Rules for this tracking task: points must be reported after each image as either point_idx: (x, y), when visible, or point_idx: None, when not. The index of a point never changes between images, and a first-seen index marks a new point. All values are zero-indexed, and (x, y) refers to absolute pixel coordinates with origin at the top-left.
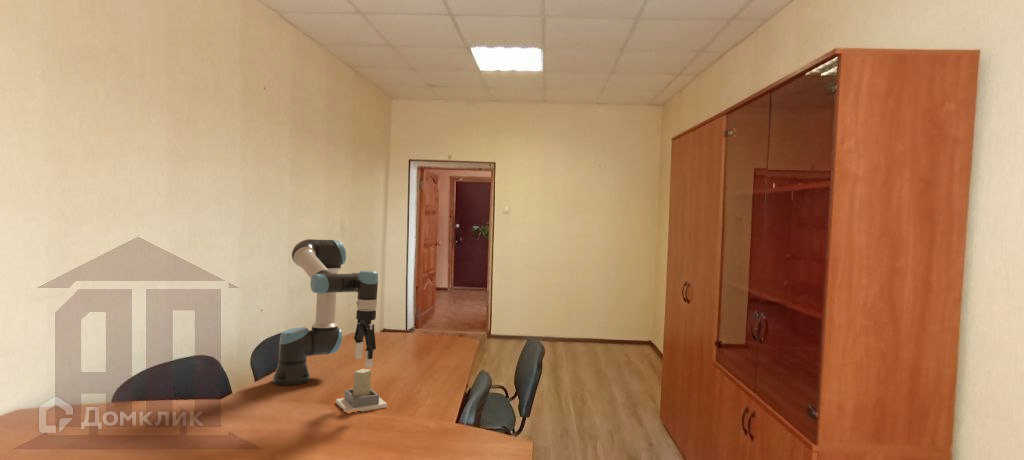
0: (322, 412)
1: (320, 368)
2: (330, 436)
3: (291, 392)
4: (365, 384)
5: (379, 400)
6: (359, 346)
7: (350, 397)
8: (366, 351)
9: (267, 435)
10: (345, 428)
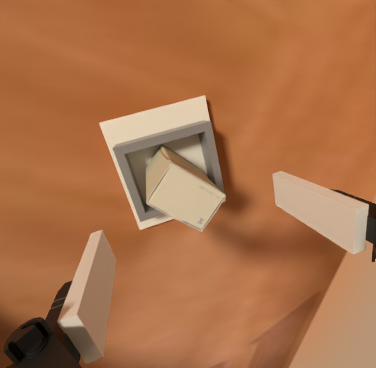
0: (200, 243)
1: None
2: None
3: None
4: (198, 172)
5: (172, 115)
6: (96, 305)
7: None
8: (358, 246)
9: (279, 298)
10: None
